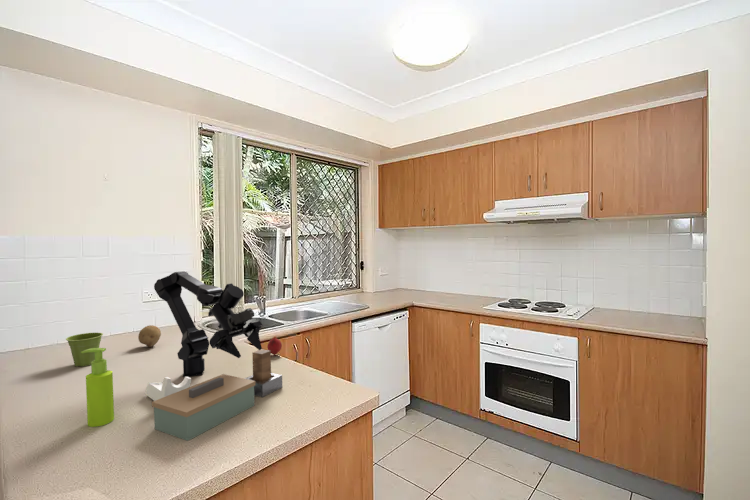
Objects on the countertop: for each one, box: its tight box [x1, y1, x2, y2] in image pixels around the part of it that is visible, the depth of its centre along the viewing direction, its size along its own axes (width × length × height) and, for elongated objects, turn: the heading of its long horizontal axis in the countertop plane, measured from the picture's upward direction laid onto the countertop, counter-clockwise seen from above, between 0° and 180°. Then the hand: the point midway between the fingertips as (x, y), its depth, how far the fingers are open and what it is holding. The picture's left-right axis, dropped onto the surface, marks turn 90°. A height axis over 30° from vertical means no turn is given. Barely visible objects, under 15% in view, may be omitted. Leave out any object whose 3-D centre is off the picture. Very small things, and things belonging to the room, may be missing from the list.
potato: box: [137, 324, 162, 348], centre depth 177 cm, size 9×9×10 cm
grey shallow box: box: [244, 372, 283, 398], centre depth 125 cm, size 9×9×4 cm
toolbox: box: [151, 373, 255, 442], centre depth 109 cm, size 14×28×9 cm, turn 152°
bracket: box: [144, 376, 192, 401], centre depth 120 cm, size 13×7×8 cm, turn 49°
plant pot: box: [65, 332, 104, 367], centre depth 153 cm, size 12×12×11 cm
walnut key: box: [252, 349, 272, 382], centre depth 125 cm, size 4×4×12 cm
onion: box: [266, 335, 282, 356], centre depth 162 cm, size 6×6×8 cm
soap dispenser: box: [81, 347, 115, 428], centre depth 104 cm, size 6×7×20 cm
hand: (250, 353), depth 127 cm, fingers open, 9 cm apart
